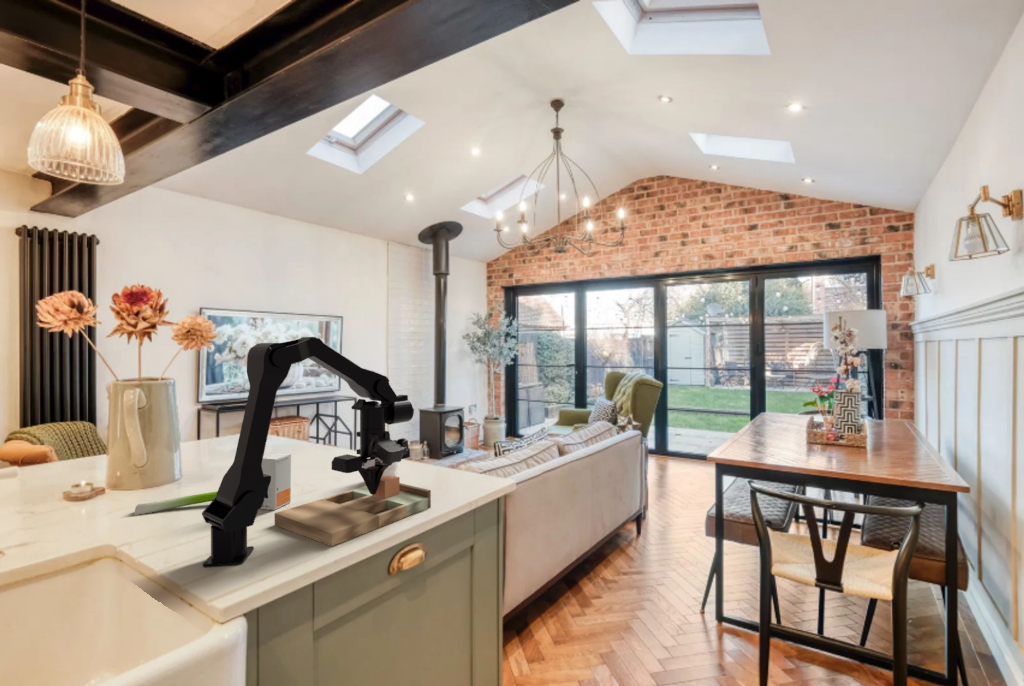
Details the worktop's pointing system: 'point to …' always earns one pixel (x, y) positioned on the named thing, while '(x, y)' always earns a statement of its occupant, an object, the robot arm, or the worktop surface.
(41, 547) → the worktop surface
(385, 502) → the board
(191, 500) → the leek
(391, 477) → the block
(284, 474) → the skincare box
